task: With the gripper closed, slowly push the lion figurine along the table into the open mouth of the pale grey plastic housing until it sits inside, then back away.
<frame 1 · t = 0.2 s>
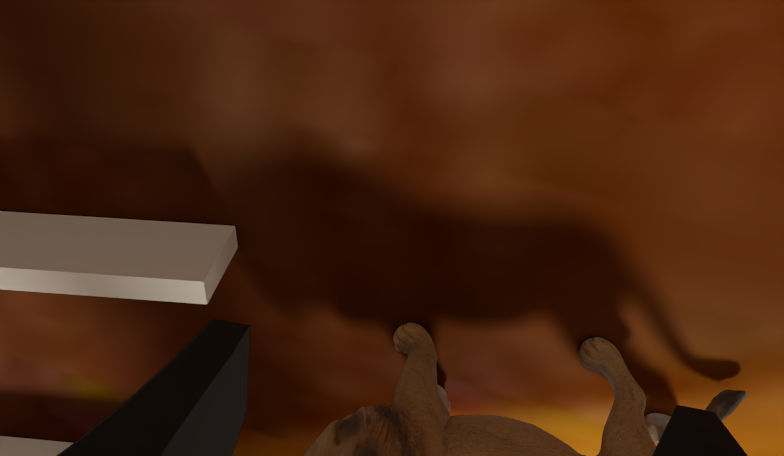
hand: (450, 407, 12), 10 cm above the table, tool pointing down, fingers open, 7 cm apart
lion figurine: (498, 379, 26), on the table
housing: (40, 347, 27), on the table
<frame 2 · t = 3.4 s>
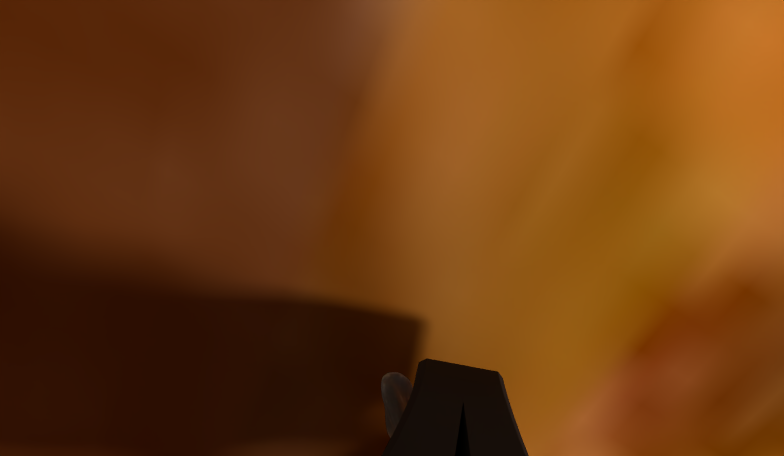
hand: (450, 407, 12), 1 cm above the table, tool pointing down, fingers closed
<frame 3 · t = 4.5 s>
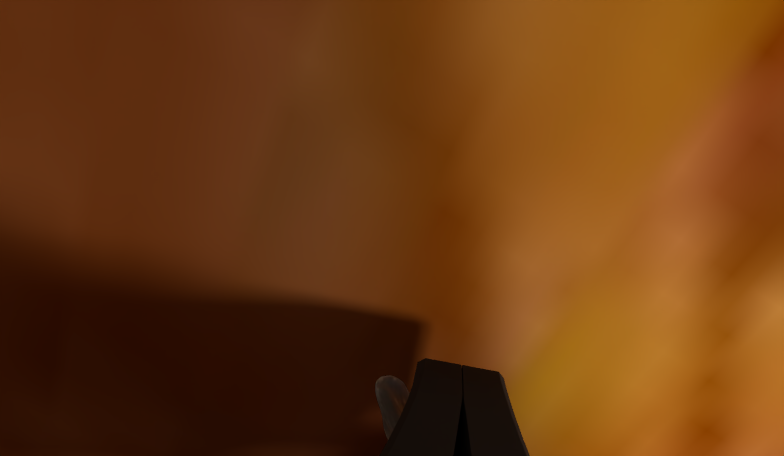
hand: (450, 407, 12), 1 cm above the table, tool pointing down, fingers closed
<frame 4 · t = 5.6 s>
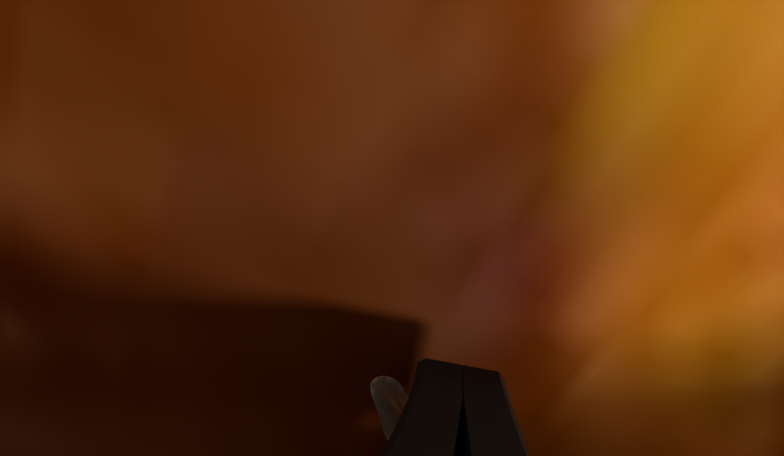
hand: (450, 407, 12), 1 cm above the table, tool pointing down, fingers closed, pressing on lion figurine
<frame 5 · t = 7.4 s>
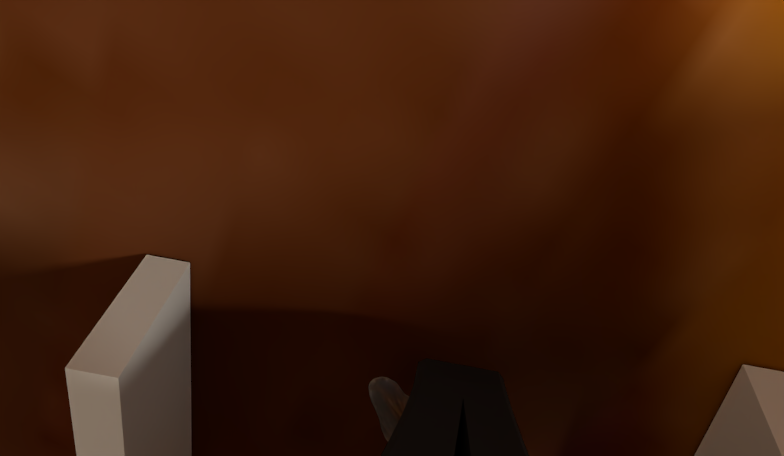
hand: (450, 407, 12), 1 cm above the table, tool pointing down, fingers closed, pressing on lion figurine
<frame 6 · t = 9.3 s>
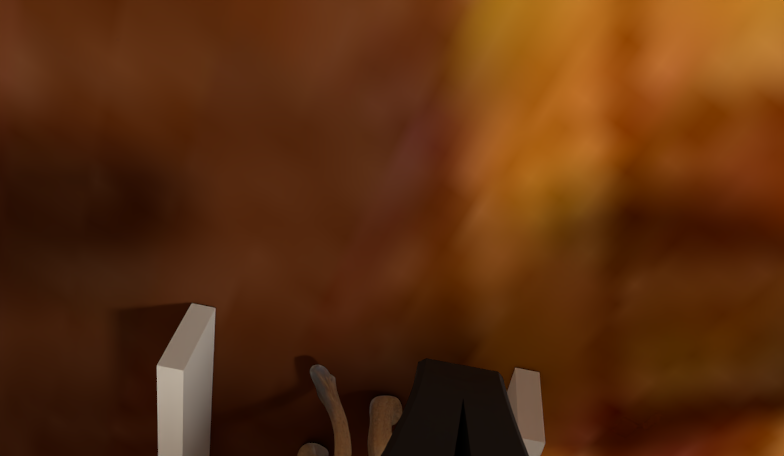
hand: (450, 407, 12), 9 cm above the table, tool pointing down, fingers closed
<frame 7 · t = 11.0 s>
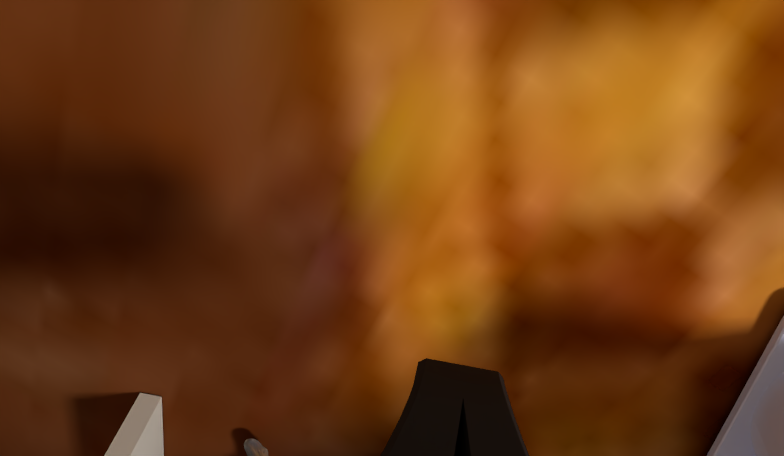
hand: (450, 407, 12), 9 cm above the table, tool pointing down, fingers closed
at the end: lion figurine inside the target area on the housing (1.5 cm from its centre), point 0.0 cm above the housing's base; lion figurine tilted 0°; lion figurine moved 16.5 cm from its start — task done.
